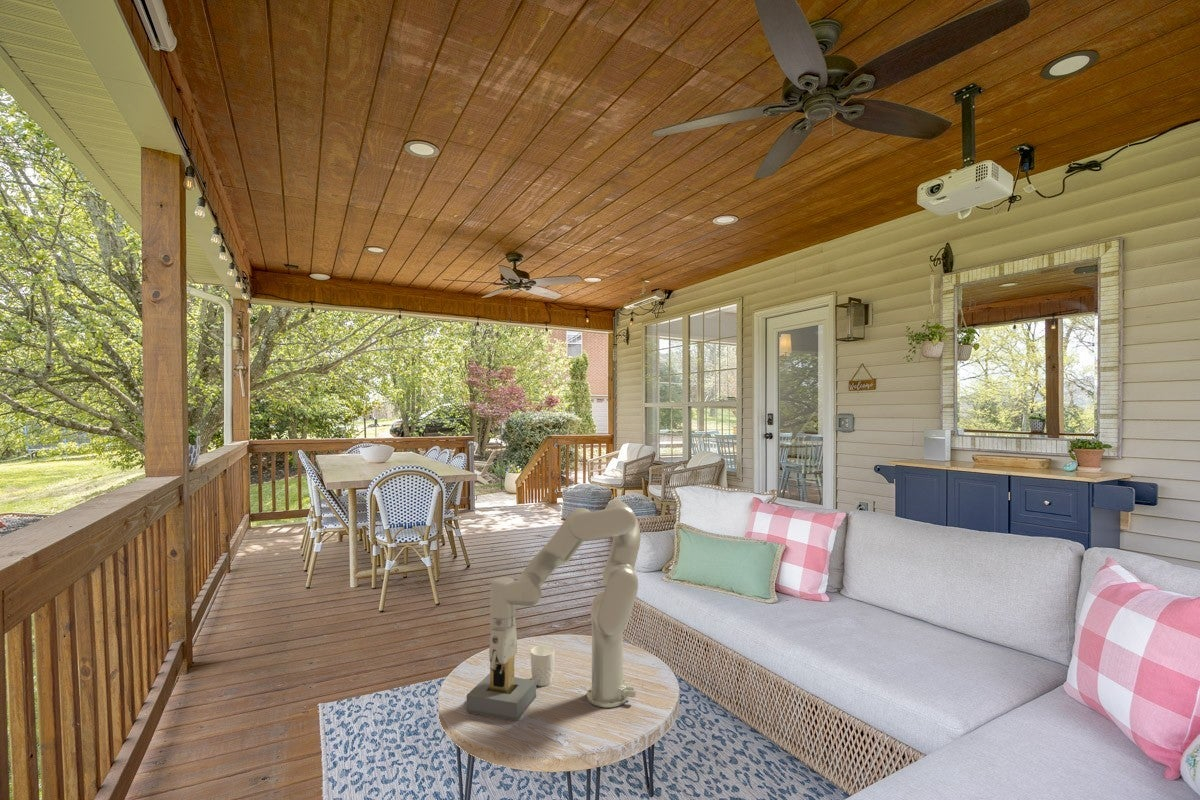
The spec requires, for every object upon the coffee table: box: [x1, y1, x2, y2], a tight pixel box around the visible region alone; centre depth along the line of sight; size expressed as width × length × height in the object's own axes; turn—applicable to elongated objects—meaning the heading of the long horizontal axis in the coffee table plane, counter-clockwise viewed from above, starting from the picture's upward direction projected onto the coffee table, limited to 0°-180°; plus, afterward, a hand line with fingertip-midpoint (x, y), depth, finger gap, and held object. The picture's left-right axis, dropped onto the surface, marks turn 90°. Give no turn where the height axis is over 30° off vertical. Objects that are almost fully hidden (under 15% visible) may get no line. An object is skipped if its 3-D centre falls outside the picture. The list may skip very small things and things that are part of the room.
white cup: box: [530, 645, 556, 687], centre depth 180 cm, size 8×8×10 cm
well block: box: [465, 673, 537, 722], centre depth 165 cm, size 16×14×5 cm
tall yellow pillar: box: [489, 655, 515, 694], centre depth 165 cm, size 6×4×12 cm, turn 74°
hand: (502, 681), depth 165 cm, fingers closed on tall yellow pillar, 4 cm apart
